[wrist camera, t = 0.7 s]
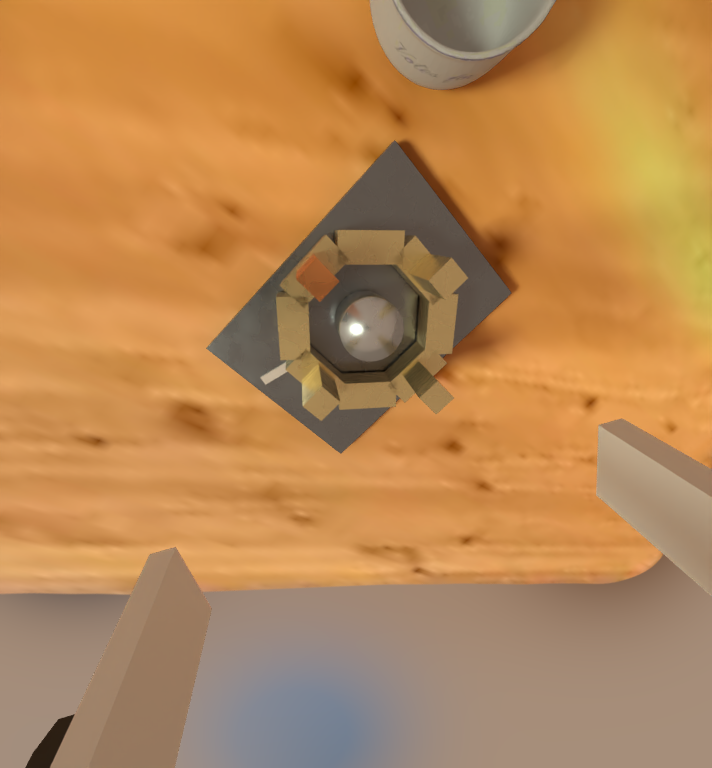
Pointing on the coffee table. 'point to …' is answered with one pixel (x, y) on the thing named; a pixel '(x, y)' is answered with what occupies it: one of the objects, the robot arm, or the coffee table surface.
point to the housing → (361, 297)
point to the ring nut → (415, 366)
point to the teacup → (453, 36)
